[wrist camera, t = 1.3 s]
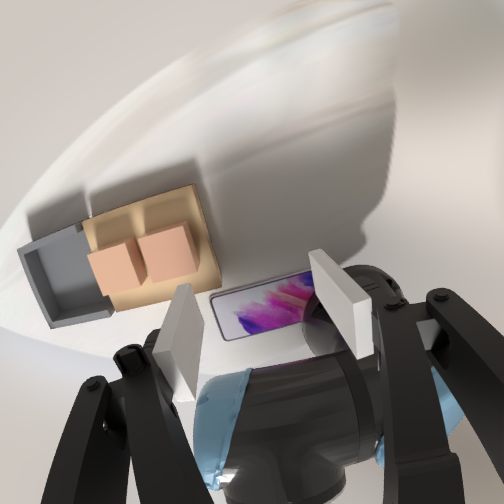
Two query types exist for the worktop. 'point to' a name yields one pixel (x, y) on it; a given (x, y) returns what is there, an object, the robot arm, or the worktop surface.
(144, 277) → the tile
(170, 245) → the tile
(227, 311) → the smartphone
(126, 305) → the board
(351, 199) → the worktop surface
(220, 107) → the worktop surface
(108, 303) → the tray
